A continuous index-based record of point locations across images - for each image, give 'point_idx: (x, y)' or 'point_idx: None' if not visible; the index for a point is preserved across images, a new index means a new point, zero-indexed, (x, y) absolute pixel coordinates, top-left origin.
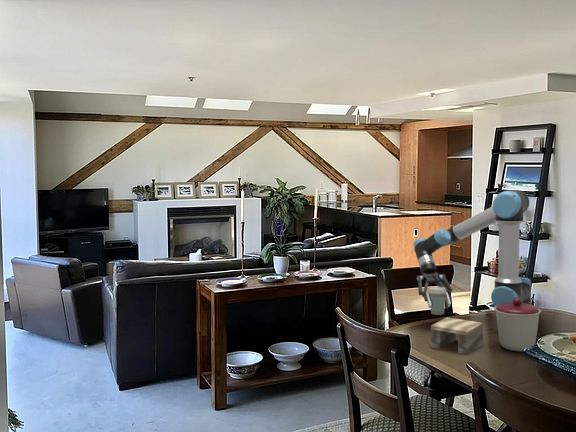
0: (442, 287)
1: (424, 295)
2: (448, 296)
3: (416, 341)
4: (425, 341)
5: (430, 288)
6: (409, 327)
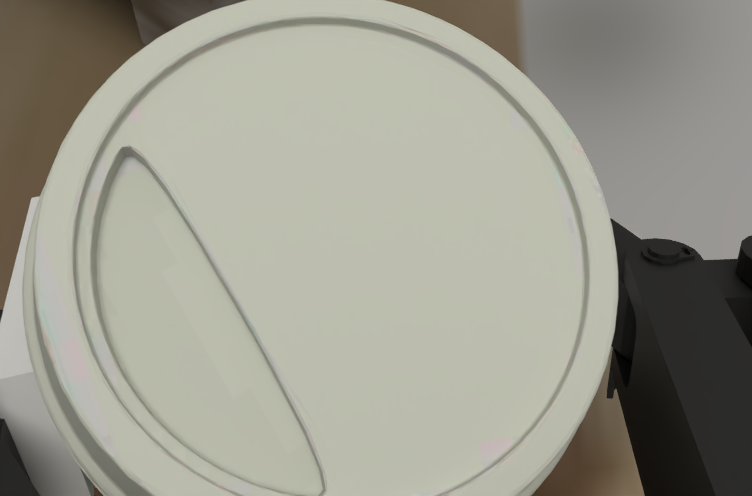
0: (114, 391)
1: (632, 235)
2: (14, 289)
3: (506, 6)
4: (430, 4)
5: (563, 276)
6: (597, 456)
